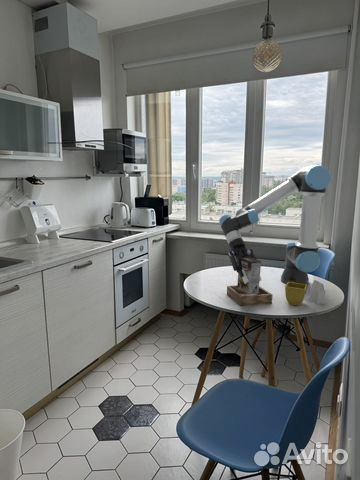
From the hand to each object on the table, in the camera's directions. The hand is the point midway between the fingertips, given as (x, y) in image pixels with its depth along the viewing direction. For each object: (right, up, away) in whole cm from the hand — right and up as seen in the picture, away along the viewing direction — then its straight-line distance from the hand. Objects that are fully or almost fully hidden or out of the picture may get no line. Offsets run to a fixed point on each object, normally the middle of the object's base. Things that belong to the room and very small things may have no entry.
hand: (253, 281), depth 155 cm
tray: (-1, -9, +5) cm, 10 cm away
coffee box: (-2, -5, +4) cm, 7 cm away
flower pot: (+20, -11, 0) cm, 22 cm away
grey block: (+31, -10, +3) cm, 33 cm away
